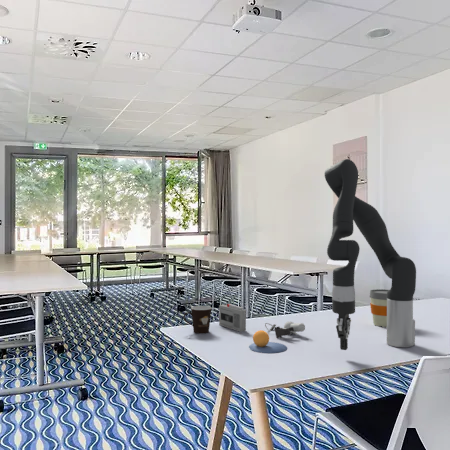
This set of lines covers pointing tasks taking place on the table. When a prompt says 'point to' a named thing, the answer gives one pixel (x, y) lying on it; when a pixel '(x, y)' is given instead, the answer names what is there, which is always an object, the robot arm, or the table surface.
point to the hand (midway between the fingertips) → (343, 349)
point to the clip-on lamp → (287, 329)
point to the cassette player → (232, 317)
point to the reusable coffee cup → (379, 306)
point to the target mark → (269, 348)
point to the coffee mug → (200, 318)
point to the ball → (261, 338)
